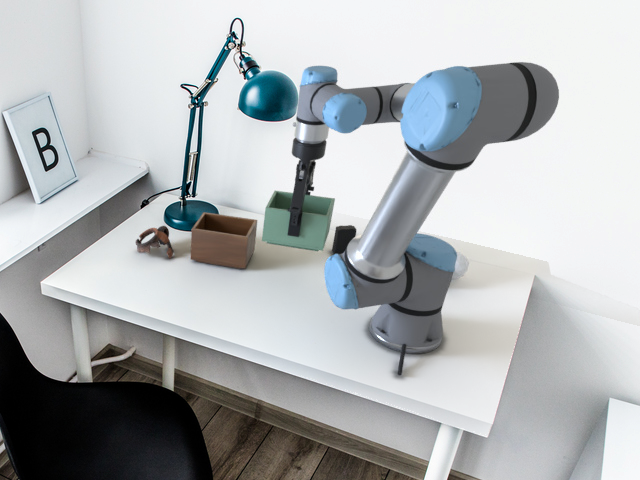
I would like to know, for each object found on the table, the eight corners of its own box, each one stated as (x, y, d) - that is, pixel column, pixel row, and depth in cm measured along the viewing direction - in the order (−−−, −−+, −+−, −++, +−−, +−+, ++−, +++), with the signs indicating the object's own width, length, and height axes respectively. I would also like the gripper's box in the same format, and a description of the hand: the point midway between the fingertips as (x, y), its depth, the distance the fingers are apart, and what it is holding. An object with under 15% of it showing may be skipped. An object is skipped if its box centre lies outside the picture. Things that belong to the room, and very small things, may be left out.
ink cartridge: (349, 251, 179) (354, 224, 174) (351, 255, 177) (357, 228, 173) (331, 252, 179) (336, 225, 174) (333, 255, 177) (338, 229, 173)
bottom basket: (244, 271, 171) (248, 237, 166) (190, 262, 176) (191, 229, 170) (254, 253, 180) (257, 219, 174) (201, 244, 184) (203, 212, 178)
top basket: (322, 254, 159) (328, 216, 153) (261, 244, 163) (265, 207, 157) (328, 234, 167) (335, 198, 161) (270, 225, 171) (274, 190, 166)
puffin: (442, 250, 169) (418, 273, 163) (467, 244, 163) (443, 268, 157) (453, 272, 170) (430, 295, 165) (478, 267, 164) (455, 291, 159)
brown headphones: (169, 265, 176) (154, 243, 172) (142, 272, 182) (127, 250, 178) (183, 237, 183) (169, 214, 178) (157, 243, 189) (142, 222, 184)
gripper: (302, 121, 159) (290, 204, 173) (284, 154, 142) (272, 243, 155) (333, 124, 157) (319, 208, 170) (319, 158, 140) (304, 248, 153)
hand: (297, 225), depth 163 cm, fingers closed on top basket, 11 cm apart
